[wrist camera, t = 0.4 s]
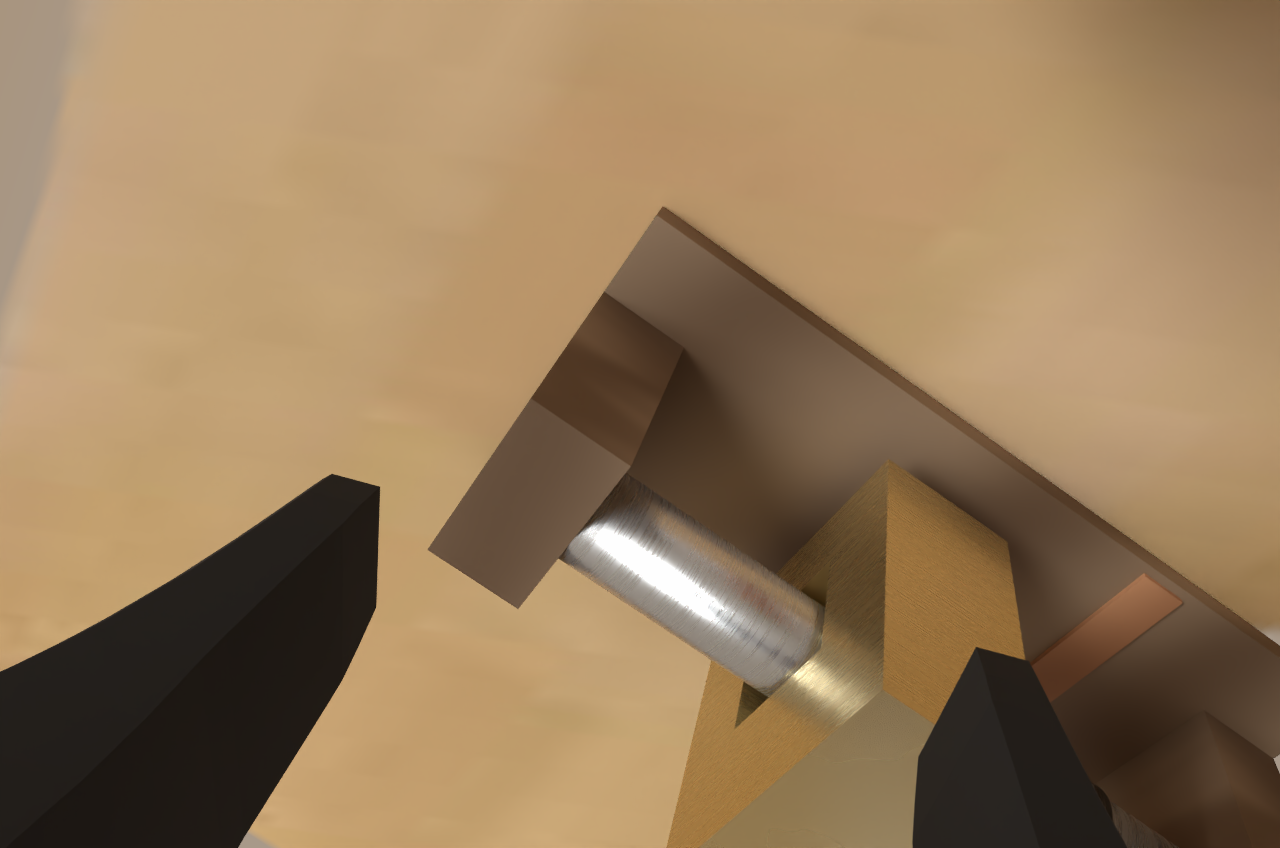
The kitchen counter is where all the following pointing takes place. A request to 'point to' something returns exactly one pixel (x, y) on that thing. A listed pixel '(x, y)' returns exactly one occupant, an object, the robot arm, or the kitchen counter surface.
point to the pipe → (720, 599)
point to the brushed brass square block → (852, 679)
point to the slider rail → (830, 475)
